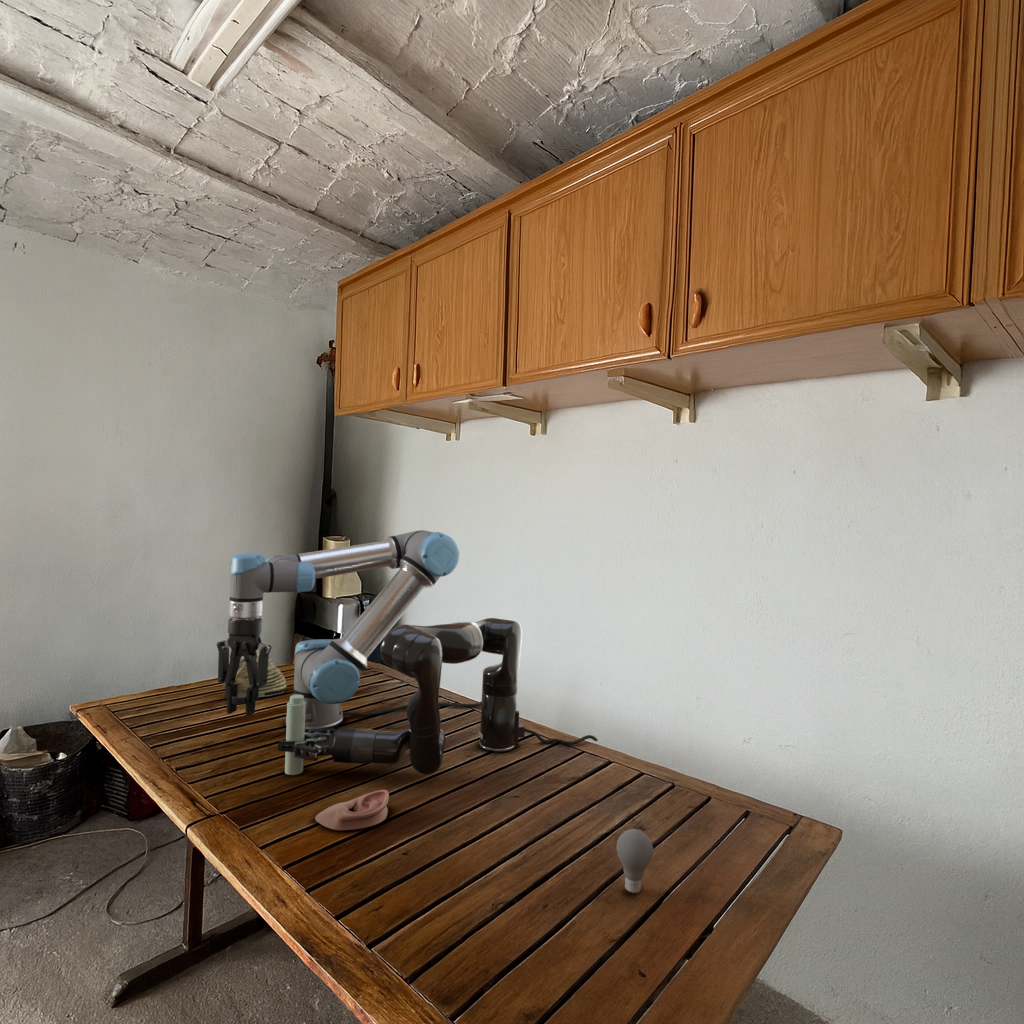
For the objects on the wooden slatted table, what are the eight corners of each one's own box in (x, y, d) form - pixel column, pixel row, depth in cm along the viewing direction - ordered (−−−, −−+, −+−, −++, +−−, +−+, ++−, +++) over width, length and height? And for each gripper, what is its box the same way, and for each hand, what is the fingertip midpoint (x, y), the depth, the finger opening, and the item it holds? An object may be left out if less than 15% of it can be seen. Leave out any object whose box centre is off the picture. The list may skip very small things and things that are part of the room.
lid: (236, 698, 156) (236, 691, 156) (253, 699, 156) (253, 692, 156) (228, 704, 152) (228, 697, 152) (246, 705, 152) (246, 698, 152)
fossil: (218, 695, 195) (220, 647, 195) (278, 685, 208) (279, 640, 207) (228, 703, 189) (230, 653, 188) (289, 692, 201) (290, 645, 201)
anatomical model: (307, 805, 121) (336, 780, 133) (306, 826, 121) (335, 798, 133) (372, 815, 119) (395, 788, 130) (371, 836, 119) (394, 807, 130)
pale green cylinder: (306, 770, 146) (309, 696, 146) (292, 776, 143) (294, 700, 142) (295, 766, 148) (298, 692, 148) (281, 771, 145) (283, 696, 144)
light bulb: (610, 879, 108) (613, 822, 108) (644, 879, 109) (647, 822, 109) (619, 902, 102) (622, 840, 102) (655, 901, 103) (658, 840, 103)
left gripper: (203, 616, 152) (198, 713, 152) (268, 623, 148) (263, 722, 148) (223, 611, 159) (219, 704, 159) (286, 618, 155) (281, 712, 156)
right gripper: (365, 718, 152) (294, 715, 152) (348, 741, 138) (270, 737, 138) (364, 749, 152) (293, 746, 152) (347, 775, 138) (269, 771, 138)
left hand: (240, 713), depth 154 cm, fingers closed on lid, 4 cm apart
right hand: (283, 741), depth 145 cm, fingers closed on pale green cylinder, 4 cm apart
